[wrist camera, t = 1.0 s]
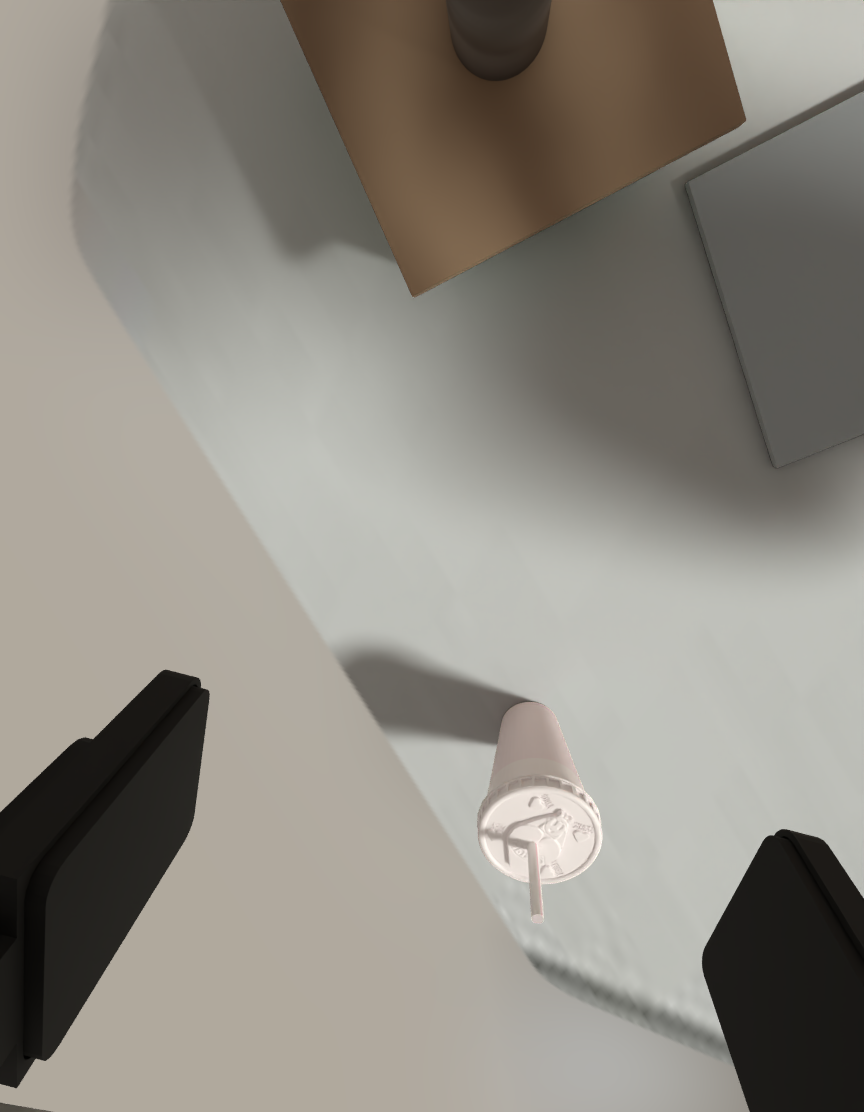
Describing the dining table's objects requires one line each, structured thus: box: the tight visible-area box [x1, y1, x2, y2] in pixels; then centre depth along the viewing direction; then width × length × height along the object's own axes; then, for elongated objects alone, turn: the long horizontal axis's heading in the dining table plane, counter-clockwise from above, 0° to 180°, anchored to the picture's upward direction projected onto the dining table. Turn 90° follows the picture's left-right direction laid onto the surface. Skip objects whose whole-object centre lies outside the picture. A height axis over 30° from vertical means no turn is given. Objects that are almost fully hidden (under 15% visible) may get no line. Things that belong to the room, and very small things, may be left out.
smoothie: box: [477, 702, 602, 924], centre depth 34 cm, size 6×6×14 cm
